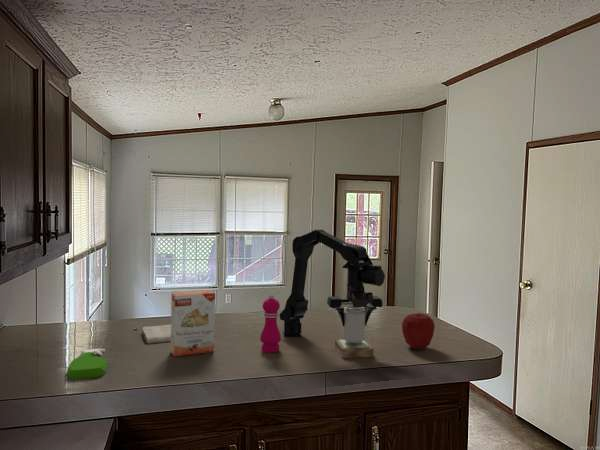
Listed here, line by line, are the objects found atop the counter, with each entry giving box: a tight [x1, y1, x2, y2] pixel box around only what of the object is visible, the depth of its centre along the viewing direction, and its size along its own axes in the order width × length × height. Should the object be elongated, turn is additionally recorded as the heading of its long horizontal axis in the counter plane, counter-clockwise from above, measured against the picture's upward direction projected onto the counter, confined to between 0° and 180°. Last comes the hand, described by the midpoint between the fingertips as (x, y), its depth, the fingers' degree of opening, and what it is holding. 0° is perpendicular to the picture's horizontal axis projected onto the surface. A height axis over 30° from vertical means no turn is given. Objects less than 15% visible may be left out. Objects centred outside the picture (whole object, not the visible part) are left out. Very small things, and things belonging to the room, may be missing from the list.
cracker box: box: [170, 289, 216, 357], centre depth 161 cm, size 14×6×21 cm, turn 117°
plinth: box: [334, 338, 374, 359], centre depth 165 cm, size 11×11×3 cm
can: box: [342, 305, 366, 343], centre depth 165 cm, size 8×8×12 cm
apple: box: [401, 312, 436, 351], centre depth 172 cm, size 12×12×13 cm
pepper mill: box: [260, 293, 282, 354], centre depth 165 cm, size 7×7×20 cm
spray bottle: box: [67, 348, 108, 380], centre depth 148 cm, size 3×11×24 cm
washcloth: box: [142, 324, 171, 344], centre depth 181 cm, size 12×18×3 cm, turn 26°
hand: (354, 326), depth 165 cm, fingers closed on can, 7 cm apart
